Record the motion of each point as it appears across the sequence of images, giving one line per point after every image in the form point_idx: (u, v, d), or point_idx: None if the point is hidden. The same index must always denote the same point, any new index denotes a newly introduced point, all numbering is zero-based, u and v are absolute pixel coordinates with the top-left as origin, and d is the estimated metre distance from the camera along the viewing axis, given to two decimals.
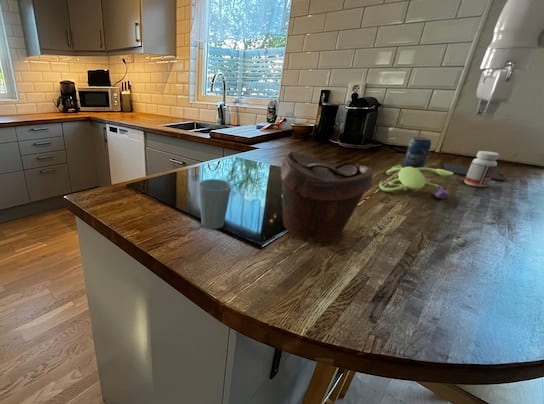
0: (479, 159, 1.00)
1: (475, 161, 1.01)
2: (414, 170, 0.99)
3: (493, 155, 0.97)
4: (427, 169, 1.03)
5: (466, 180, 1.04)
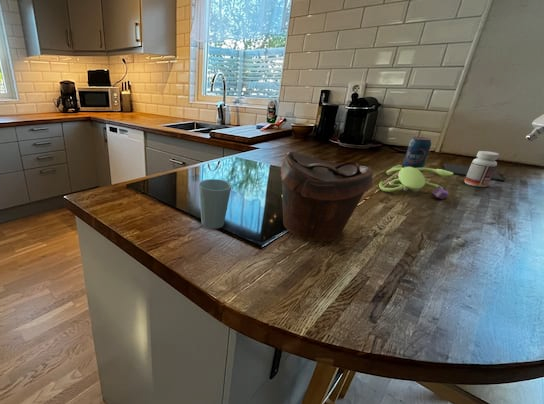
0: (479, 159, 1.00)
1: (475, 161, 1.01)
2: (414, 170, 0.99)
3: (493, 155, 0.97)
4: (427, 169, 1.03)
5: (466, 180, 1.04)
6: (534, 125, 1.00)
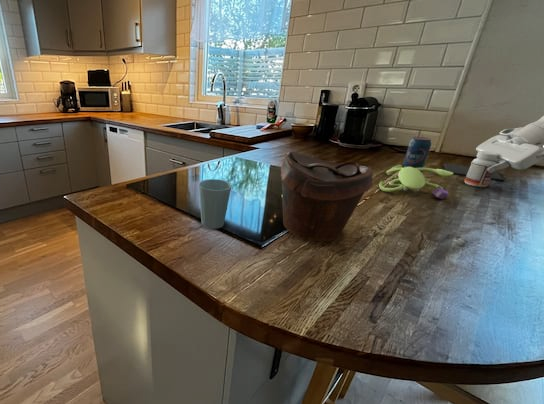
0: (479, 159, 1.00)
1: (475, 161, 1.01)
2: (414, 170, 0.99)
3: (493, 155, 0.97)
4: (427, 169, 1.03)
5: (466, 180, 1.04)
6: (477, 151, 1.07)
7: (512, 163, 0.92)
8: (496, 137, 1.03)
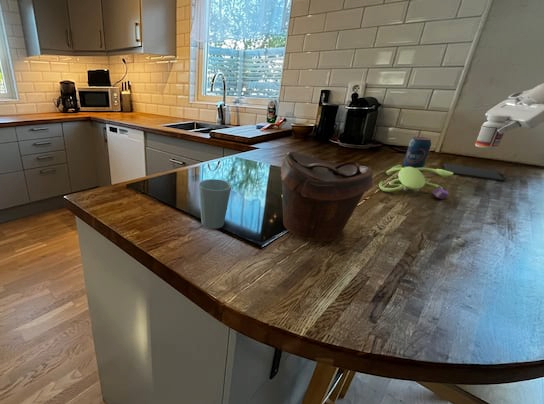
0: (489, 122, 1.04)
1: (486, 124, 1.05)
2: (414, 170, 0.99)
3: (503, 117, 1.01)
4: (427, 169, 1.03)
5: (477, 143, 1.08)
6: (487, 116, 1.11)
7: (522, 122, 0.96)
8: (505, 101, 1.08)
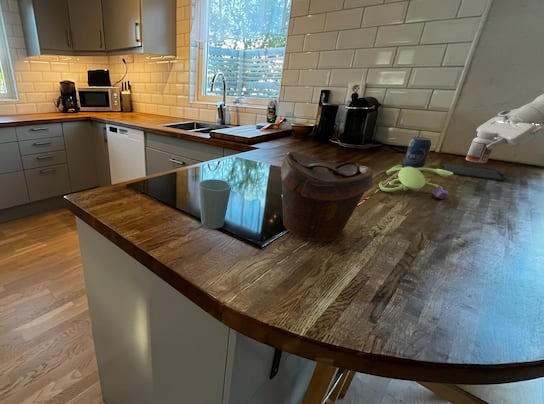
0: (479, 138, 1.11)
1: (475, 140, 1.12)
2: (414, 170, 0.99)
3: (492, 133, 1.08)
4: (427, 169, 1.03)
5: (467, 157, 1.15)
6: None
7: (508, 140, 1.03)
8: (494, 118, 1.15)
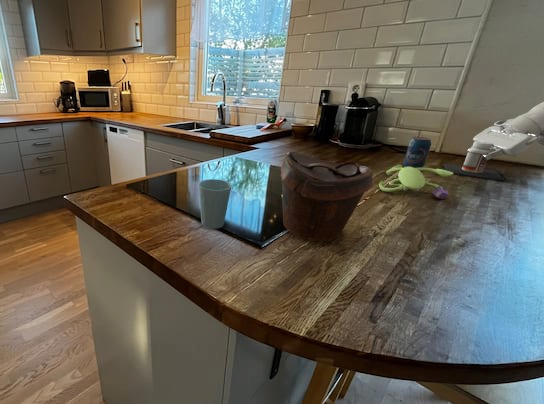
0: (475, 148, 1.13)
1: (471, 150, 1.14)
2: (414, 170, 0.99)
3: (487, 144, 1.10)
4: (427, 169, 1.03)
5: (463, 167, 1.17)
6: (474, 140, 1.19)
7: (504, 150, 1.05)
8: (491, 128, 1.16)
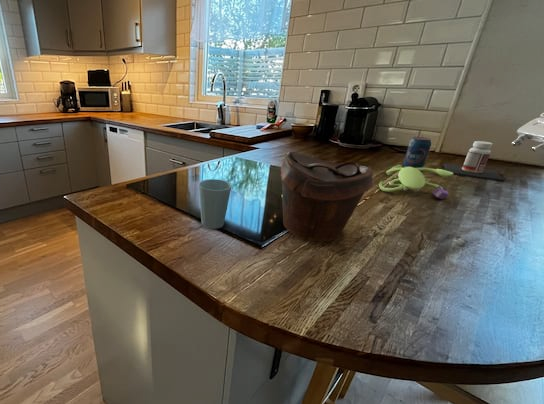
0: (475, 148, 1.13)
1: (471, 150, 1.14)
2: (414, 170, 0.99)
3: (487, 144, 1.10)
4: (427, 169, 1.03)
5: (463, 167, 1.17)
6: (519, 133, 1.15)
7: None
8: (537, 119, 1.12)
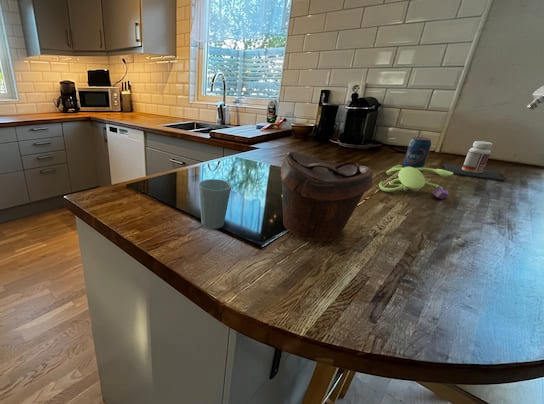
0: (475, 148, 1.13)
1: (471, 150, 1.14)
2: (414, 170, 0.99)
3: (487, 144, 1.10)
4: (427, 169, 1.03)
5: (463, 167, 1.17)
6: (535, 96, 1.10)
7: None
8: None
